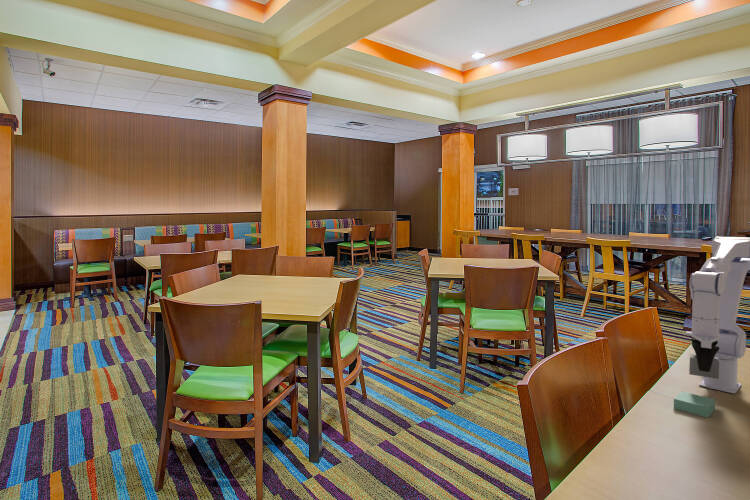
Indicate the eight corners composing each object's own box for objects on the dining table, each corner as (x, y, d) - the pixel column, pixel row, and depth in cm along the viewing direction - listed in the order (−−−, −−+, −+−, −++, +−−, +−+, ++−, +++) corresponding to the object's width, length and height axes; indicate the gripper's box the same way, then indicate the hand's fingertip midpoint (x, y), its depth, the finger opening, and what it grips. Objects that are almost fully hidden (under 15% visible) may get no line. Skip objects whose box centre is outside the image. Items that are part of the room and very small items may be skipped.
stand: (681, 400, 112) (681, 391, 112) (714, 409, 107) (715, 399, 107) (673, 408, 108) (673, 398, 108) (708, 417, 102) (708, 407, 102)
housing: (689, 370, 116) (689, 353, 116) (717, 374, 112) (718, 357, 112) (689, 374, 113) (690, 357, 112) (718, 378, 109) (719, 361, 109)
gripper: (686, 311, 120) (684, 358, 121) (687, 321, 108) (685, 373, 109) (718, 313, 116) (716, 362, 116) (723, 324, 104) (720, 379, 105)
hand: (703, 368), depth 112 cm, fingers closed on housing, 4 cm apart
